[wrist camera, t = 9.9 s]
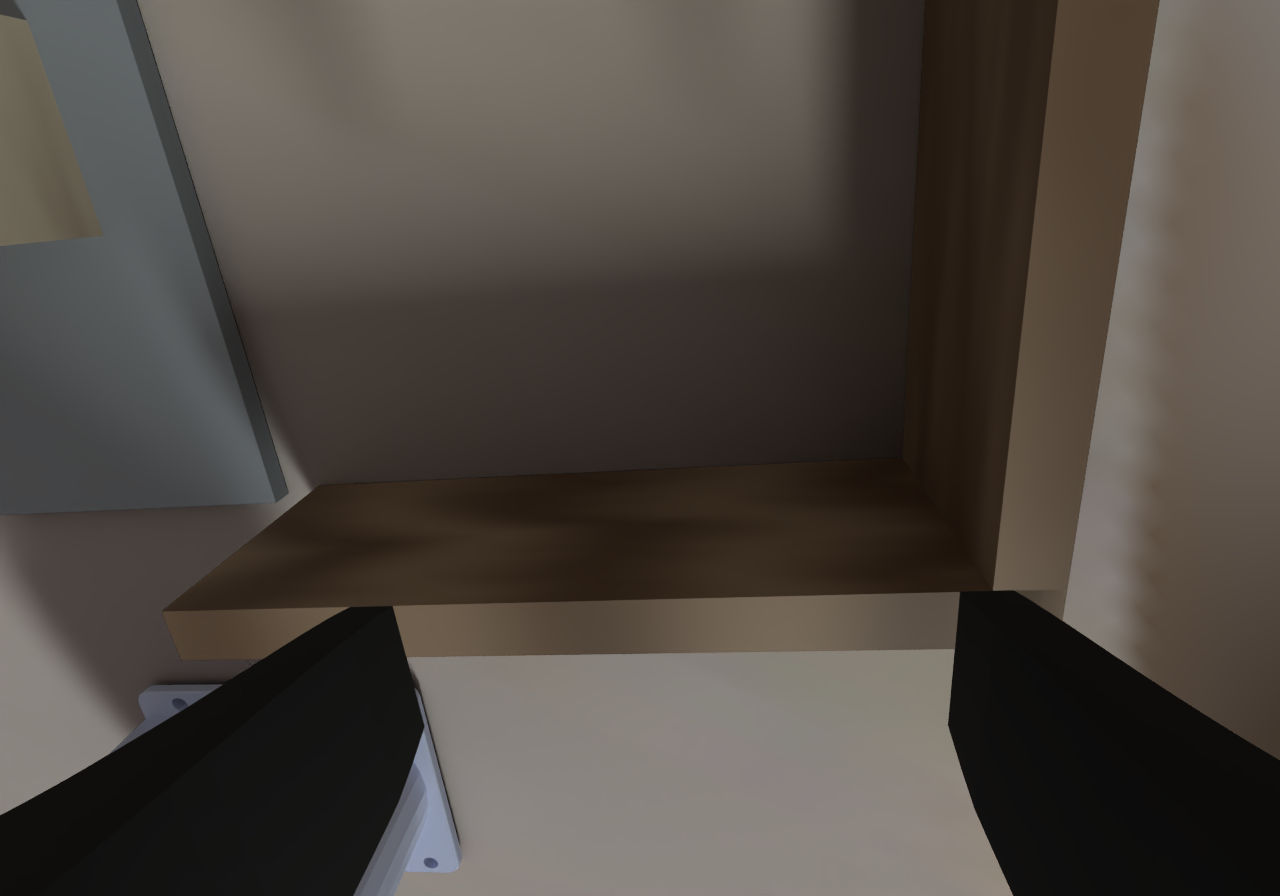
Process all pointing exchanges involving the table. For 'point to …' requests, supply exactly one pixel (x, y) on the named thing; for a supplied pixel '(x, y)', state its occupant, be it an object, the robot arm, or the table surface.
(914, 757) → the table surface
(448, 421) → the table surface
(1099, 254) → the wooden u-shaped frame
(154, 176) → the mat
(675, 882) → the table surface
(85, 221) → the block
